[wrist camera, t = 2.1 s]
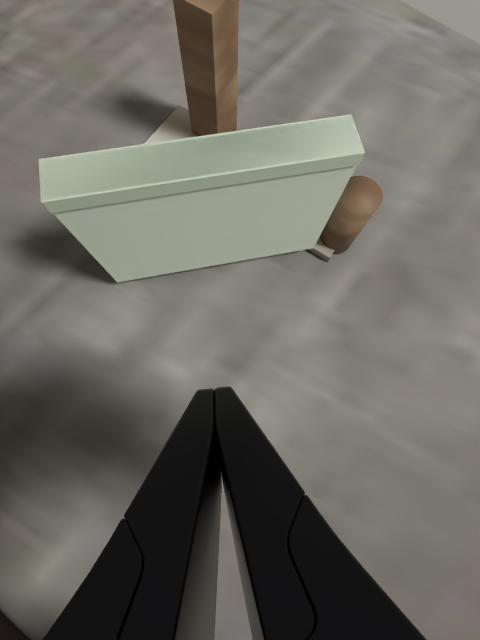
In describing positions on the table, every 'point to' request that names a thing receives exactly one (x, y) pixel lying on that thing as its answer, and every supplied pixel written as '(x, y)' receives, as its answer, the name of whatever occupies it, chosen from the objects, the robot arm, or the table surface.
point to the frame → (221, 108)
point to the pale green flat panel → (203, 196)
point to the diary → (9, 630)
